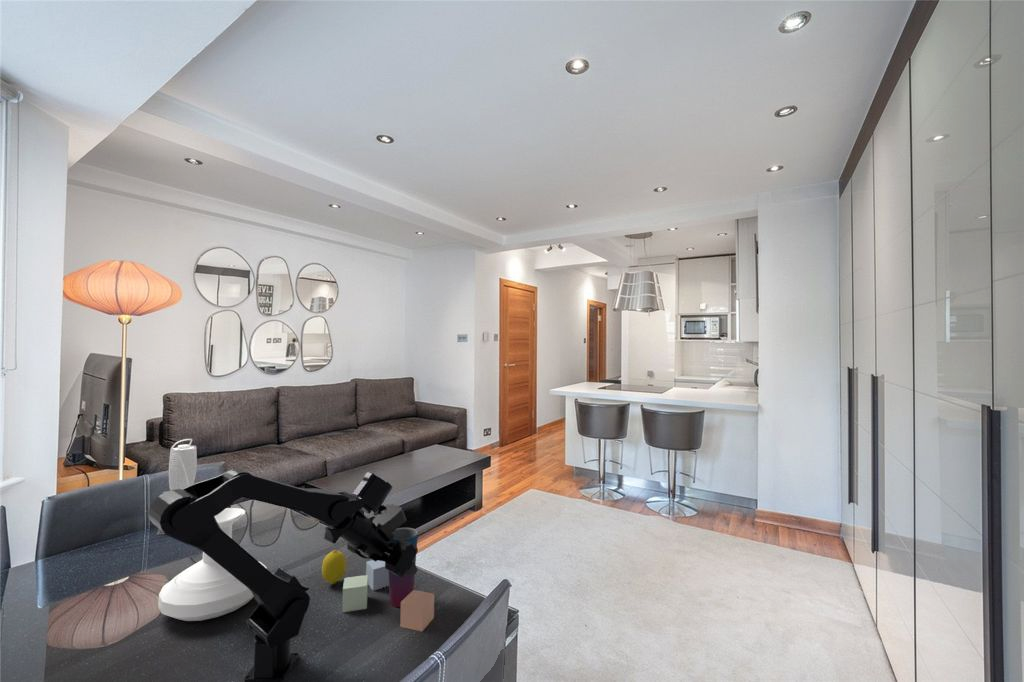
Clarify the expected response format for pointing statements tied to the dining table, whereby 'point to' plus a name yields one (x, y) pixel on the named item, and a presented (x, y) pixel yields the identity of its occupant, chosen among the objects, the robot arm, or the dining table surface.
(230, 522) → the candle holder
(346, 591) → the block sage
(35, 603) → the dining table surface
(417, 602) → the block terracotta
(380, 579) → the block slate
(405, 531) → the cup
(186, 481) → the skyscraper
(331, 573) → the lemon
